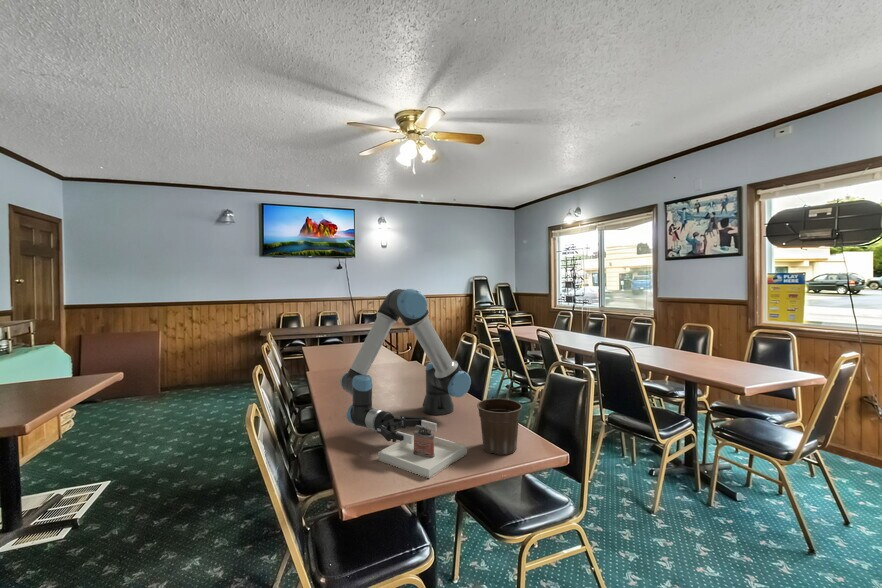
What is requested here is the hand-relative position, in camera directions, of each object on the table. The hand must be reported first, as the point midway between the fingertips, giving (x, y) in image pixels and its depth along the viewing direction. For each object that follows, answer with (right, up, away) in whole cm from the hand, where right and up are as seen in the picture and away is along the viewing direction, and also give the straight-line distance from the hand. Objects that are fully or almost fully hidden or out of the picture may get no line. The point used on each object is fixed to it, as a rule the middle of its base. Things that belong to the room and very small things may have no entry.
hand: (424, 433), depth 134 cm
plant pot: (+27, -9, +8) cm, 29 cm away
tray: (0, -8, +1) cm, 9 cm away
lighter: (0, -8, +1) cm, 8 cm away
